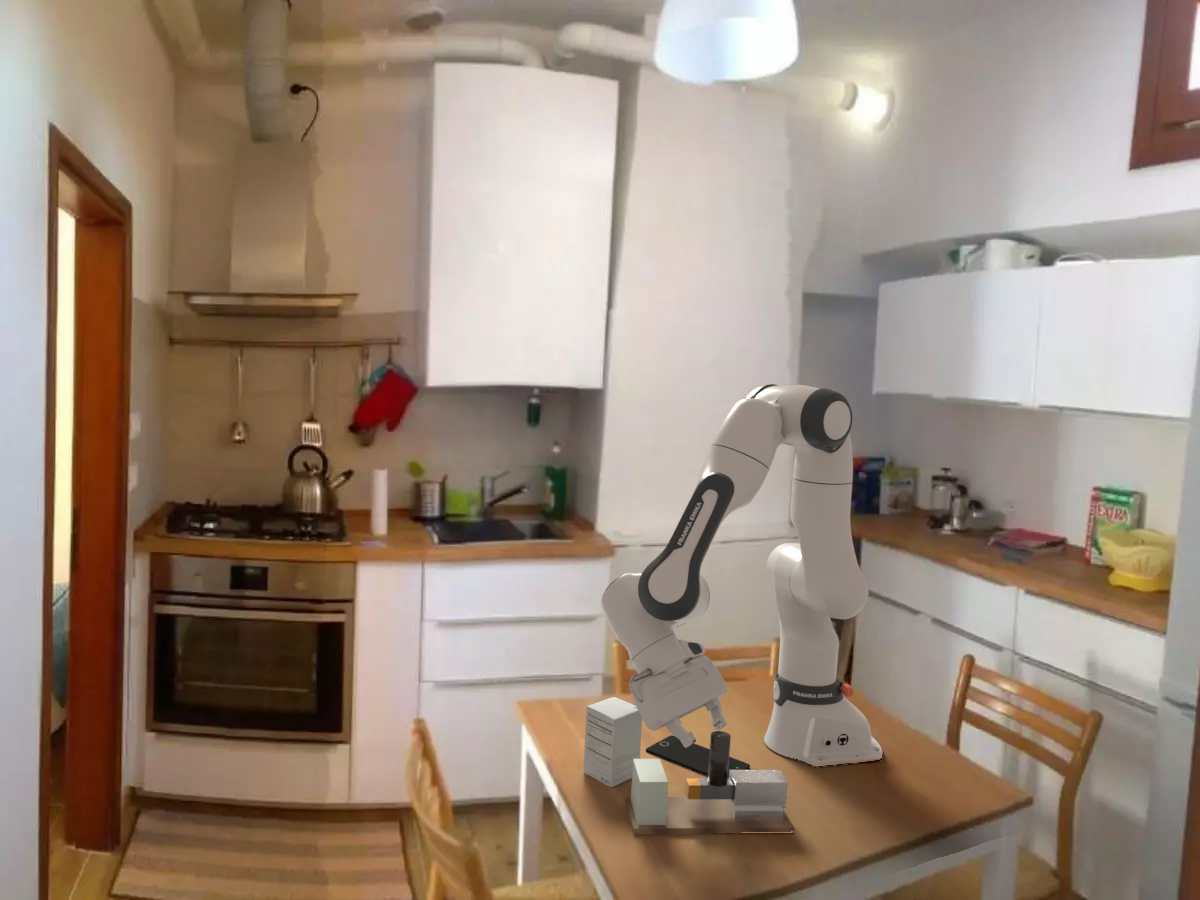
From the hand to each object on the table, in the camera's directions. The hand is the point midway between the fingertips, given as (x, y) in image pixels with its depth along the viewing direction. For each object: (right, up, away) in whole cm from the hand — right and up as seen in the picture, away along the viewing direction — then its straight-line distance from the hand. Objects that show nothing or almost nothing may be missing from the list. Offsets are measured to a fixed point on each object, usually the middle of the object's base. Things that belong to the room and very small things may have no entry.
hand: (707, 736), depth 151 cm
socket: (-10, -12, -1) cm, 16 cm away
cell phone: (+1, -11, +21) cm, 24 cm away
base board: (0, -13, 0) cm, 13 cm away
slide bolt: (+4, -10, 0) cm, 11 cm away
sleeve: (+8, -13, +1) cm, 15 cm away
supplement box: (-16, -11, +13) cm, 23 cm away
